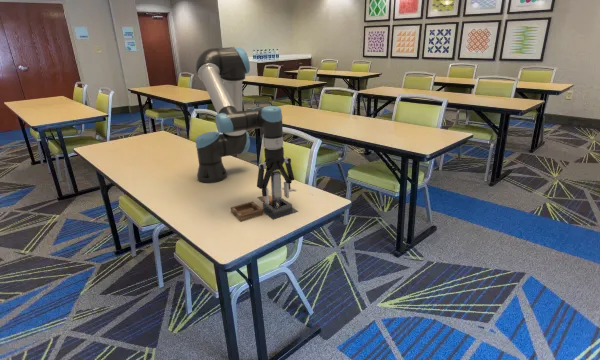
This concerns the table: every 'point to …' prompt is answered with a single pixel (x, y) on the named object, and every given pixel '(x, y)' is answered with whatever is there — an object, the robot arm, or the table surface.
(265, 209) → the socket
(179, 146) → the table surface
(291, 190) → the pliers
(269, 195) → the orange rectangular bar
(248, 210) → the tray
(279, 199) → the grey cylindrical peg
